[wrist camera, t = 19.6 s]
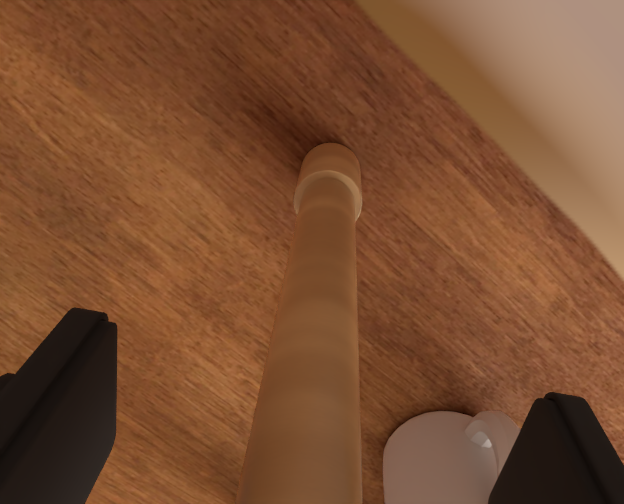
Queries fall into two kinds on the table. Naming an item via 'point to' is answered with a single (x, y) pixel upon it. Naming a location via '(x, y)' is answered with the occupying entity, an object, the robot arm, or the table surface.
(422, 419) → the cup
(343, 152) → the muddler
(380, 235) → the table surface
